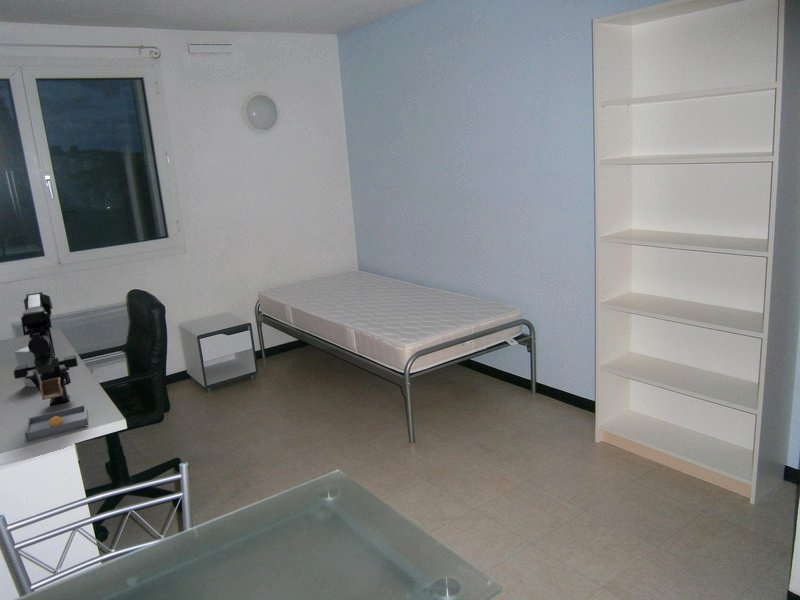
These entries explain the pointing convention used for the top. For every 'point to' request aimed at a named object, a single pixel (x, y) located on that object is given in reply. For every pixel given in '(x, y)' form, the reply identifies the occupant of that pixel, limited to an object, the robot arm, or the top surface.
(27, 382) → the skincare box
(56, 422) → the ball
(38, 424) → the tray
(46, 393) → the scoop
